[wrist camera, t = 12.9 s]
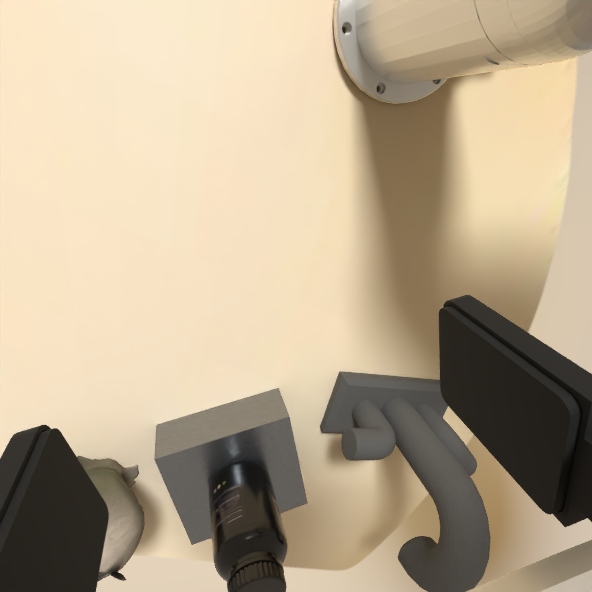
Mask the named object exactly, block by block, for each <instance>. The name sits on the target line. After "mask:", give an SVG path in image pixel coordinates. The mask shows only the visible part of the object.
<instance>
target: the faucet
mask: <svg viewBox="0 0 592 592" xmlns="http://www.w3.org/2000/svg"><path fill="white" fill-rule="evenodd" d="M447 407H448V405H447V403H446V402H445V401H444V399H443V397H442V394H441V390H440V380H432V379H421V378H409V377H398V376H387V375H375V374H364V373H352V372H341V371H340V372H339V374H338V377H337V380H336V383H335V386H334V389H333V391H332V394H331V397H330V400H329V403H328V405H327V408H326V411H325V414H324V417H323V420H322V422H321V425H320V428H321V430H322V432H323V433H343V435H342V451H343V454H344V456H345V458H346V459H347V460H380V459H383V458H385V457H387V456H389V455H390V454H391V453H392V451H393V449H394V447H395V444H396V445H397V447H398V448H399V450H400V451H401V453H402V454H403V455H404V457H405V458H406V460H407V461H408V463H409V464H410V466H411V467H412V469H413V470H414V472H415V473H416V475H417V476H418V478H419V479H420V481H421V482H422V484H423V485H424V487H425V488H426V490H427V491H428V492H429V494H430V495H431V497H432V498H433V500H434V502H435V505H436V507H437V511H438V514H439V519H440V537H439V542H438V544H436V542H435V541H434V540H433V539H432V538H430V537H425V536H419V537H415V538H413V539H411V540H409V541H408V542H406V543H405V544H404V545H403V546H402V548H401V549H400V552H399V555H398V560H399V561H400V563H401V564H402V566H403V568H404V569H405V571H406V572H407V574H408V575H409V576H410V577H411V578H412V579H413V580H414V581H415V582H416V583H417V584H418V585H419V586H420V587H421V588H423V589H424V590H426V591H428V592H466V591H469V590H471V589H473V588H475V586H476V585H477V583H478V582H479V581H480V580H481V579H482V577H483V575H484V572H485V569H486V566H487V563H488V560H489V550H490V532H489V524H488V517H487V514H486V510H485V508H484V504H483V501H482V498H481V496H480V494H479V492H478V490H477V488H476V486H475V484H474V482H473V480H472V479H471V478H470V476H471V475H472V474H473V473H474V472H475V470H476V467H477V462H476V460H475V458H474V456H473V455H472V454H471V452H470V451H469V449H468V448H467V447H466V445H465V444H464V442H463V441H462V440H461V439H460V437H459V436H458V435H457V434H456V433H455V431H454V430H453V429H452V428H451V427H450V426H449V425H448V423H447V422H446V421H445V420H444V419H443V415H444V413H445V411H446V409H447Z"/></svg>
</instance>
